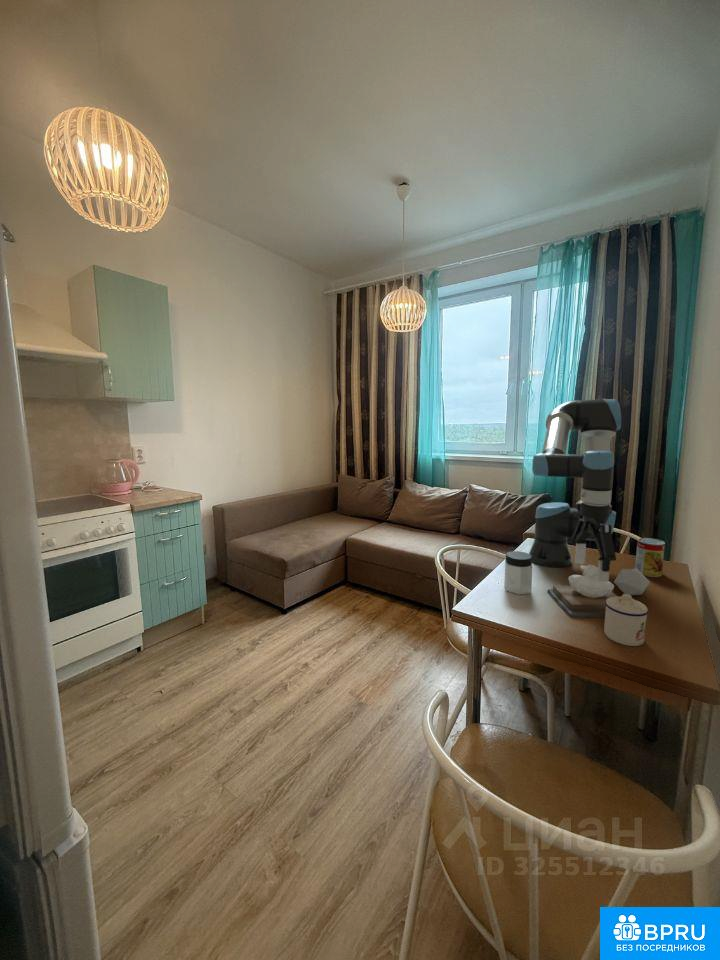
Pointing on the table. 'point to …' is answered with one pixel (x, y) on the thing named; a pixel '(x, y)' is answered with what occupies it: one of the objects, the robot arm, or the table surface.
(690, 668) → the table surface
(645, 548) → the canned food
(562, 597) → the pedestal
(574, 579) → the bust
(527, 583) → the jar
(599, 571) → the robot arm
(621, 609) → the teacup with lid
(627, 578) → the die
